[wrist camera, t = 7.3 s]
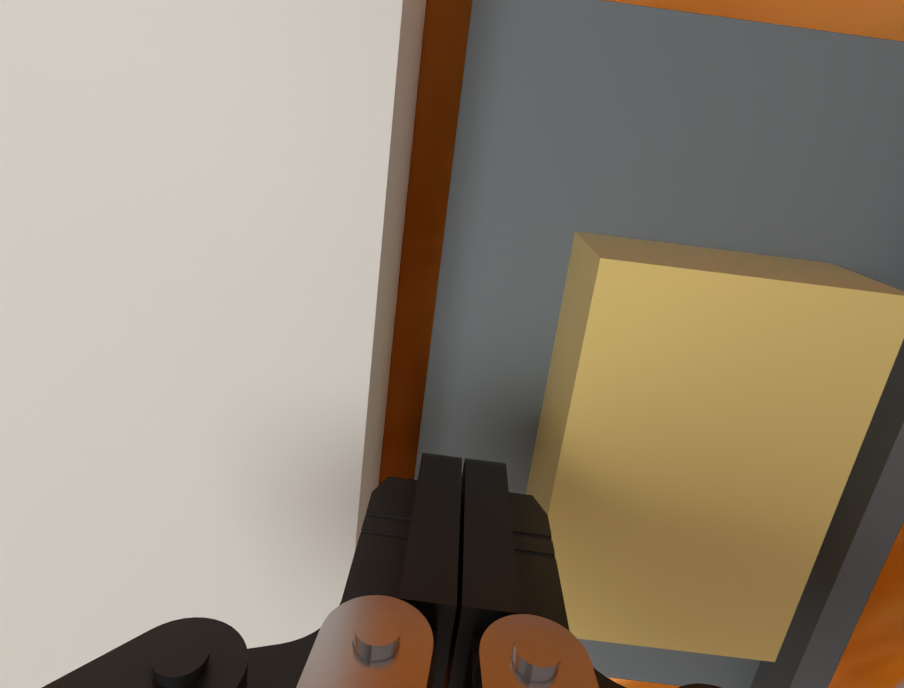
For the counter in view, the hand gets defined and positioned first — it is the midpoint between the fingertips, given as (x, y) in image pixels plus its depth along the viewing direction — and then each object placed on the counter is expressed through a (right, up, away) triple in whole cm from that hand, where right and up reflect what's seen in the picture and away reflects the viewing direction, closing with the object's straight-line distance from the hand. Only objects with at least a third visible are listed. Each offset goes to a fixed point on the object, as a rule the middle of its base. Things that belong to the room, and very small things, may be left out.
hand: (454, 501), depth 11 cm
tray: (+5, +1, +5) cm, 8 cm away
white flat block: (-9, +3, +5) cm, 10 cm away
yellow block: (+5, 0, +3) cm, 6 cm away
